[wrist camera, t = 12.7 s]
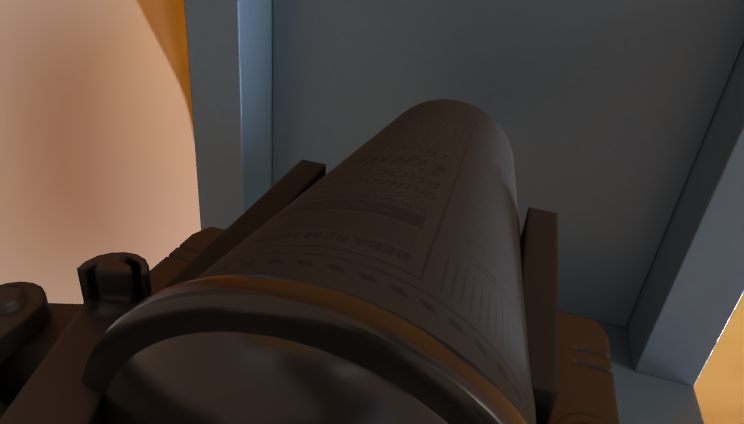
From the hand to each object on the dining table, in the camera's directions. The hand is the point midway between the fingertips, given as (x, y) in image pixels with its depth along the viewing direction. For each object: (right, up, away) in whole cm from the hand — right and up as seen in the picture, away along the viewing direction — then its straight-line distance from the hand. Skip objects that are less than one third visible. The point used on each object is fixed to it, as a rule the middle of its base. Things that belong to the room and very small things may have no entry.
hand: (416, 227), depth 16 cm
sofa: (+4, +6, +15) cm, 16 cm away
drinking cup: (+1, +2, +4) cm, 5 cm away
